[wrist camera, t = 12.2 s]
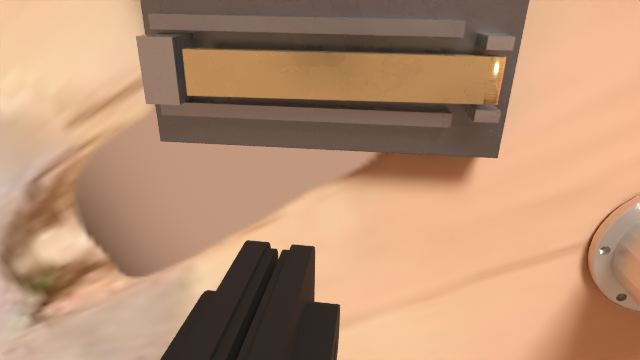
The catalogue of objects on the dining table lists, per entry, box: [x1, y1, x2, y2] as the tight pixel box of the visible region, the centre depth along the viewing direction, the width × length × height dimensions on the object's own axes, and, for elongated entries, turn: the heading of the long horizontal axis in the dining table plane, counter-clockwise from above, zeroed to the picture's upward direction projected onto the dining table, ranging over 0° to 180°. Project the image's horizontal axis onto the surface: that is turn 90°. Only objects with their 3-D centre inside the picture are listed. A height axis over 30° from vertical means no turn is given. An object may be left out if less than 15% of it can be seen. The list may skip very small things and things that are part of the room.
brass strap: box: [182, 48, 506, 105], centre depth 27 cm, size 21×3×1 cm, turn 89°
